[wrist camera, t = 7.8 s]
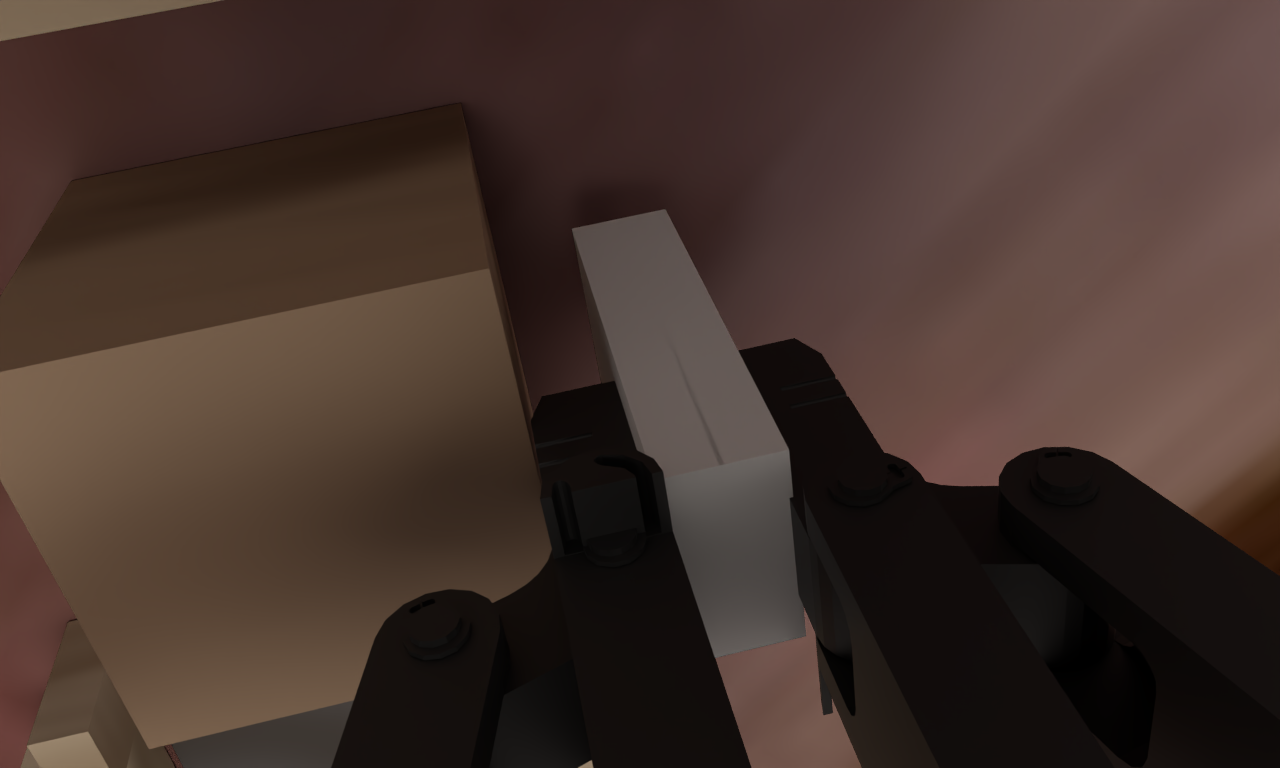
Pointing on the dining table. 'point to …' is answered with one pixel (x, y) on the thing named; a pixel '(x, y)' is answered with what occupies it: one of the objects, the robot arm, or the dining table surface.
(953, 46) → the dining table surface
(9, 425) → the block
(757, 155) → the dining table surface
